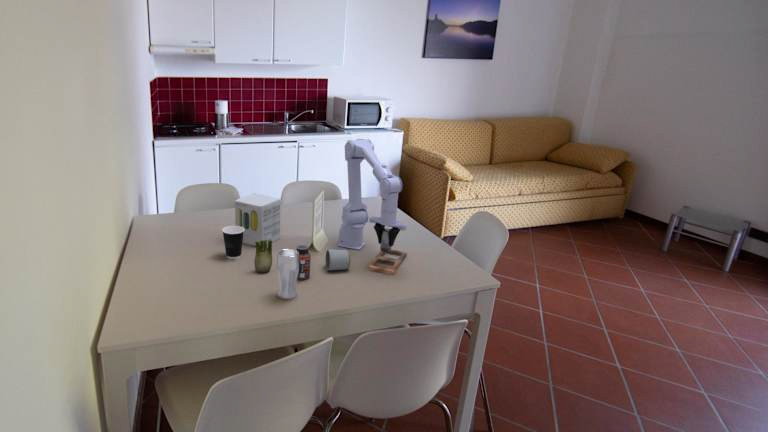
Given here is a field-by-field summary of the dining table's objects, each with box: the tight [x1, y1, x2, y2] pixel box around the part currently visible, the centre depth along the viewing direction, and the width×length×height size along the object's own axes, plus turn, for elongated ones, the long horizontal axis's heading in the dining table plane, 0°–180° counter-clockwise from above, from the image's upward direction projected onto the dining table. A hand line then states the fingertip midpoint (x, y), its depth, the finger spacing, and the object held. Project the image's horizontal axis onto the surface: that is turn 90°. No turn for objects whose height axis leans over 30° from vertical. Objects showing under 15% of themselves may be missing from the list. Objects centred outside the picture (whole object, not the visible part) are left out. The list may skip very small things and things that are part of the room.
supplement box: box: [234, 192, 282, 247], centre depth 200 cm, size 13×13×18 cm
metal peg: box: [379, 227, 392, 252], centre depth 184 cm, size 4×4×8 cm
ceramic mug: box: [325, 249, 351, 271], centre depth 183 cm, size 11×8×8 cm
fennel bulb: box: [253, 240, 273, 273], centre depth 174 cm, size 6×5×12 cm
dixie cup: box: [221, 225, 244, 260], centre depth 184 cm, size 8×8×11 cm
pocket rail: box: [366, 248, 408, 276], centre depth 191 cm, size 10×20×2 cm, turn 163°
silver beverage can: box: [276, 248, 299, 300], centre depth 159 cm, size 7×7×15 cm
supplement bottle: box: [295, 244, 312, 281], centre depth 172 cm, size 6×6×11 cm
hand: (386, 244), depth 184 cm, fingers closed on metal peg, 4 cm apart
